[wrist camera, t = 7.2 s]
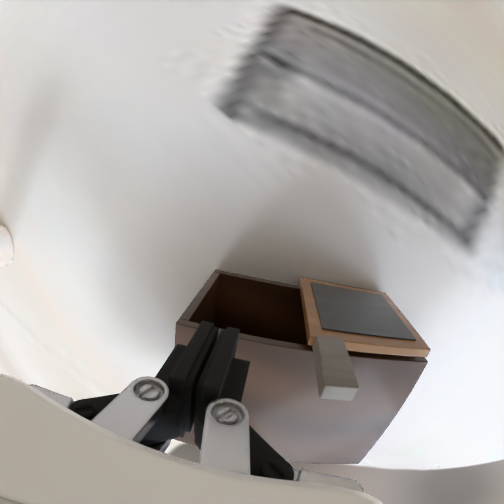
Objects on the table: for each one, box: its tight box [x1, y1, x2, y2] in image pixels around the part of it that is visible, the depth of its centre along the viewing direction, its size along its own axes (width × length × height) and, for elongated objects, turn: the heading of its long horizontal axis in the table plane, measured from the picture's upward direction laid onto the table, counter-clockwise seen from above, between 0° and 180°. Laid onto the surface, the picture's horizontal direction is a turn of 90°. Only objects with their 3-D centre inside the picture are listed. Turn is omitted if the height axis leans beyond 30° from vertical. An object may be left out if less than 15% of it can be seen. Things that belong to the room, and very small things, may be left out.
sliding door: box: [299, 278, 430, 401], centre depth 17 cm, size 1×8×14 cm, turn 80°
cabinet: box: [175, 270, 428, 464], centre depth 21 cm, size 12×16×10 cm
